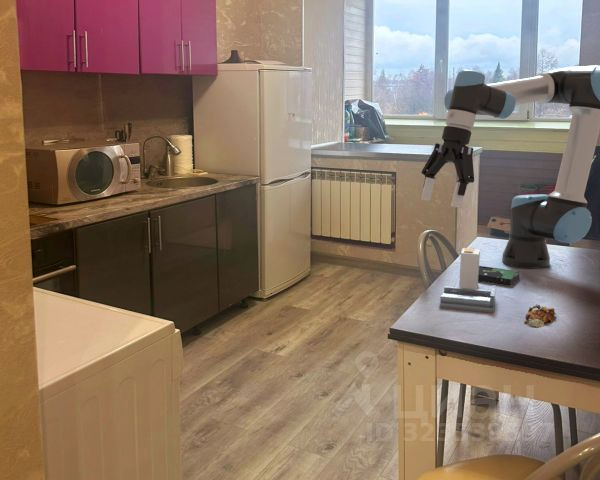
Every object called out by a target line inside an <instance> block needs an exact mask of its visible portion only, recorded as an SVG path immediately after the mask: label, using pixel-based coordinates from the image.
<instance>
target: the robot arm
mask: <svg viewBox="0 0 600 480" xmlns="http://www.w3.org/2000/svg"><path fill="white" fill-rule="evenodd" d="M485 79H486V75H485V74H484V73H482V72H480V71H477V70H471V69H461V70H460V71H459V72H458V73H457V75H456V78H455V81H454V84H453V87H452V88H450V89H449V90H448V91H447V92H446V93H445V95H444V99H443V101H444V107H445V110H447V111H448V112H447V116H446V118H445V119H446V120H445V125H446V126H444V127H443V131H442V135H441V139H442V140H443V144H442V143H438V142H436V143H435V144H434V147H433V150H432V152H431V154H430V156H429V158H428V159H427V161H426V163H425V165H424V166H423V168H422V170H421V175H423V176H424V182H423V187H422V188H423V190H422V193H421V196H420V197H421V198H420V200H422V201H428V202H431V199H432V198H431V197H432V194H433V191H434V190H433V189H434V186H435V181H436V175H437V174H438V173H439V172H440V171H441V169H442V168H443V167H444V166H445V165H446V164H447V163H449V162H450V163H451V162H452V163H453V164H454V168H455V170H456V171H455V172H456V175H457V178H458V180H457V181H456V183H455V187H454V192H453V196H452V199H451V203H450V207H453V208H458V209H461V207H462V204H463V199H464V197H465V194H466V191H467V186H468V185H469V184H471V183H474V182H475V173H474V160H473V154H474V147H471V146H468V145H469V144H470V141H471V135H472V131H471V130H473V129H474V125H475V121H476V116H491V117H493V118H496V119H504V120H505V119H507V118H509V117H510V116H511V115H512V114H513V112H514V110H515V107H516V106H517V105H523V104H531V103H536V102H537V103H539V104H541V105H543V104H545V105H546V104H549V103H550V104H563V105H569V106H568V109H569V111H570V113H571V114H572V116H571V119H570V124H569V129H568V133H567V135H566V136H567V138H566V142H565V146H564V149H563V154H562V157H561V158H562V159H561V161H560V162H561V163H560V167H559V171H558V174H557V178H556V179H557V180H556V182H555V187H554V191H552V192H550V193H549V194H543V193H542V194H541V193H540V194H538V193H537V194H534V193H533V194H519V195H516V196H514V197H513V198H512V199H511V200H512V201H511V207H510V214H509V215H510V218H509V236H508V237H509V238H508V241H507V242H506V246H505V247H504V250H503V253H502V254H501V255H502V256H501V259H502V260H501V262H502V263H503V264H505V265H508V266H510V267H515V268H521V269H522V268H523V269H542V268H543V269H544V268H546V267H548V266H550V259H551V257H550V254H549V250H548V245H547V241H546V240H547V239H549V240H554V241H556V242H558V243H566V244H575V243H577V242H579V241H581V240H582V239H584V238H585V236H587V234H588V232H589V231H590V228H591V226H592V222H593V219H592V218H593V217H592V213H591V212H590V210H589V209H588V208H587V206H588V201H587V200H586V199H587V198H585V192H586V190H587V189H586V188H587V183H588V179H589V176H590V171H591V167H592V163H593V159H594V154H595V151H596V147H597V142H598V138H599V135H600V64H598V65H586V66H585V65H583V66H579V65H578V66H577V65H576V66H567V67H562V68H558V69H554V70H550V71H545V72H539V73H537V74H536V75H535V76H533V77H527V78H521V79H514V80H506V81H501V82H496V83H487V84H486V83H485V82H486V81H485Z"/></svg>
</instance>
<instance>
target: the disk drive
mask: <svg viewBox="0 0 600 480" xmlns="http://www.w3.org/2000/svg"><path fill="white" fill-rule="evenodd" d="M520 275H521V273H520V271H516V270H513V269H505V268H497V267H490V266H485V265H484V266H483V265H479V276H478V283H479V282H481V283H487V284H494V285H500V286H507V287H512V286H513V285H514V284H515V283H516V282H517V281H518V280H519V279H520Z"/></svg>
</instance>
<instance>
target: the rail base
mask: <svg viewBox="0 0 600 480" xmlns="http://www.w3.org/2000/svg"><path fill="white" fill-rule="evenodd" d="M496 291H497V285H492V286H491V290H490V289H478V288H477V289H469V288H459V286H457V287H456V286H446V285H445V286H444V287H443V293H442V295H440V301H439V308H441V309H442V308H443V309H451V310H452V309H454V310H462V311H472V312H473V311H474V312H482V313H493V314H494V309H495V302H496Z"/></svg>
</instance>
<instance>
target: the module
mask: <svg viewBox="0 0 600 480" xmlns="http://www.w3.org/2000/svg"><path fill="white" fill-rule="evenodd" d="M480 258H481V249H479V248H478V249H477V248H472V247H462V249H461V252H460V267H459V280H458V281H459V283H458V285H459V286H458V288H469V289H478V285H479V281H478V276H479V266H480V260H481V259H480Z"/></svg>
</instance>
